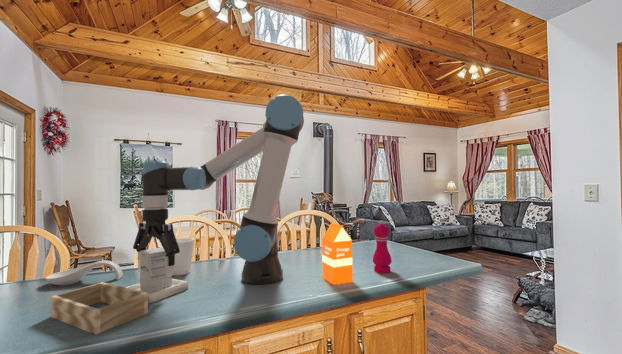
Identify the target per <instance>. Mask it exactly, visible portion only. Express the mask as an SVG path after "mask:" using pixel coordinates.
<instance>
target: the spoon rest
mask: <svg viewBox="0 0 622 354" xmlns="http://www.w3.org/2000/svg"><path fill="white" fill-rule="evenodd" d="M99 266H107V267H110V268H111V269H112V270H113V271H114V274H115V279H116V280H118V281H119V280H120V279H121V278H123V276H124V273H123V269H122V268H121V266H120V265H119V264H118V263H116V262H115V261H110V260H107V259H106V260H103V259H102V260H98V261H95V262H92V263H90V264H88V265H85V266H82V267H76V268H69V269H66V270H65V269H64V270H61V271H58V272H54V273H51V274H49V275H47V276H46V277H45V278H44V280H45V281H46V282H48V283H49V284H51V285H54V286H55V285H56V286H68V285H73V284H76V283H78V282H80V280H82V279H83V278H85V277H86V275H87V274H89V272H91V271H92V270H93V269H94V268H96V267H99Z"/></svg>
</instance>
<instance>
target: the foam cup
mask: <svg viewBox="0 0 622 354" xmlns="http://www.w3.org/2000/svg"><path fill="white" fill-rule="evenodd" d="M176 241H177V244H178V247H179V250H180V252H179V253H177V254H175V264H174V275H173V276H182V275H187V274H190V273H191V270H192V269H191V267H192V260H193V252H194V246H195V239H194V238H192V237H191V238H190V237H181V238H176ZM189 272H190V273H189Z"/></svg>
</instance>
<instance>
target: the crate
mask: <svg viewBox="0 0 622 354" xmlns="http://www.w3.org/2000/svg"><path fill="white" fill-rule="evenodd" d="M99 303H103V304H107V305H105V306H101V307H99V308H96V307H94V306H92V305H95V304H99ZM49 304H50V309H49V310H50V312H49V313H50V315H49V316H50V318H52V319H55V320H56V321H60V322H62V323H65V324H68V325H69V326H73V327H74V328H78V329H80V330H83V331H85V332H87V333H90V334H92V333H93V335H98V334H101V333H103V332H106V331H109V330H110V329H113V328H115V327H118V326H120V325H123V324H125V323H128V322H130V321H132V320H135V319H138V318H140V317H142V316H145V315H147V314H148V313H149V303H148V293H145V292H141V291H137V290H133V289H129V288H125V287H124V286H121V285H116V284H113V283H108V282H103V281H101V282H99V283H95V284H90V285H87V286H83V287H80V288H76V289H72V290H69V291H65V292H62V293H58V294H53V295H50V303H49Z"/></svg>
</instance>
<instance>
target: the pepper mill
mask: <svg viewBox="0 0 622 354" xmlns="http://www.w3.org/2000/svg"><path fill="white" fill-rule="evenodd" d="M373 233H374V235H375V241H376V245H375V246H376V248H375V250H374V254H373V256H372V263H373V264H374V266H373V269H374V272H375V273H378V274H389V273H391V266H390V265H391V264H392V262H393V261H392V256H391V254H390V252H389V251H390V250H389V248H388V241H389V236H388V235H389V234H390V228H389V226H387V225H386V224H384V220H379V221H378V224H377V225H375V226H374V228H373Z"/></svg>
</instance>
